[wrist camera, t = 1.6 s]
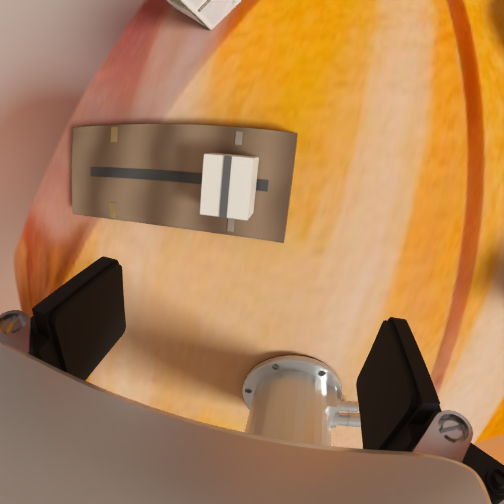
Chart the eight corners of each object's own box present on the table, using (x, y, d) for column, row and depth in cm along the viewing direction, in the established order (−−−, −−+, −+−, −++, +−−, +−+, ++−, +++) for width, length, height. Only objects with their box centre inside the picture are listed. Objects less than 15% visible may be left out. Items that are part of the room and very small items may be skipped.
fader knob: (258, 157, 26) (253, 158, 23) (253, 212, 28) (247, 220, 25) (214, 152, 27) (203, 153, 24) (210, 207, 28) (199, 214, 26)
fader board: (297, 134, 27) (297, 133, 25) (284, 236, 31) (283, 243, 29) (83, 127, 30) (72, 127, 28) (82, 210, 34) (72, 214, 32)
